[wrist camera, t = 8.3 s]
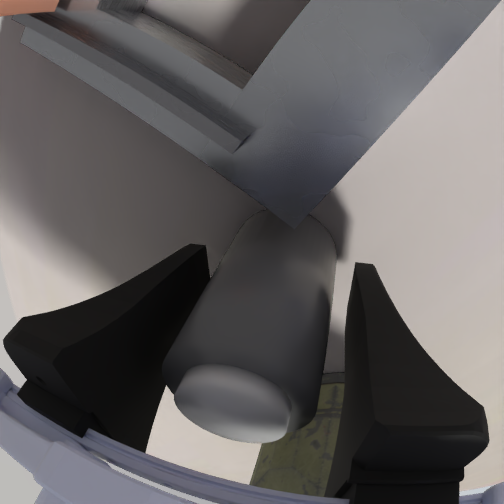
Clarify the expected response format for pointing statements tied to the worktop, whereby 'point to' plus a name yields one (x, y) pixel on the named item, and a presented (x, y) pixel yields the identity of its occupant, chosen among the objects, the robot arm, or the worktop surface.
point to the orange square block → (26, 6)
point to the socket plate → (264, 84)
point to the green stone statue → (304, 448)
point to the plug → (258, 333)
